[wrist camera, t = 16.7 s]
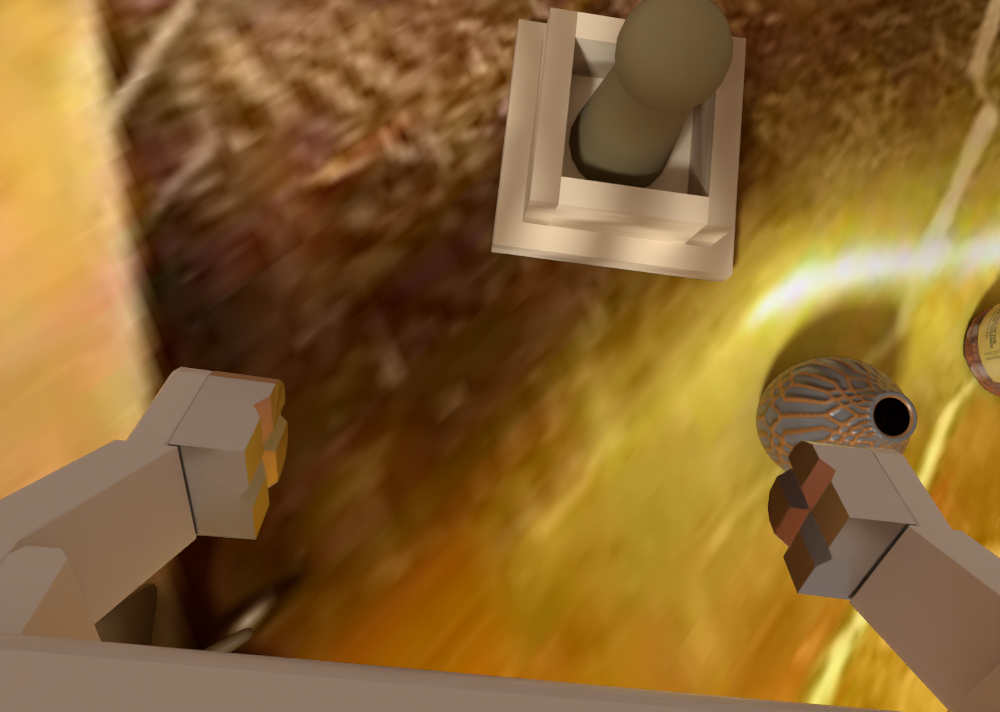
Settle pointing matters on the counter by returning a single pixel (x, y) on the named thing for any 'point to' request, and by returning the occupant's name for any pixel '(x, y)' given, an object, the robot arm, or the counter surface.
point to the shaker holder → (604, 206)
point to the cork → (651, 90)
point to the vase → (833, 408)
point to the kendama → (149, 622)
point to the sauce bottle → (985, 349)
